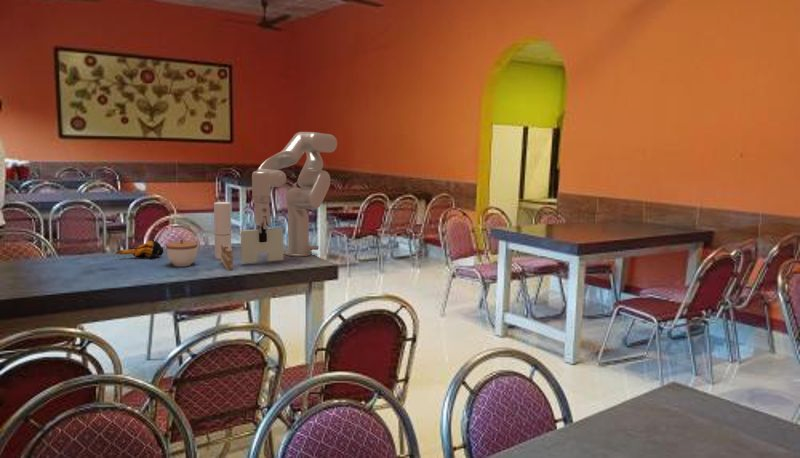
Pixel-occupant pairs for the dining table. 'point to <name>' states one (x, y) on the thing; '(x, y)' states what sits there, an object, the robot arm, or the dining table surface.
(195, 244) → the lidded bowl
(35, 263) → the dining table surface
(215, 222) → the cylindrical container
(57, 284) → the dining table surface
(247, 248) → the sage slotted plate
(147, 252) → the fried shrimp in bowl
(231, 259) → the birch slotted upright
